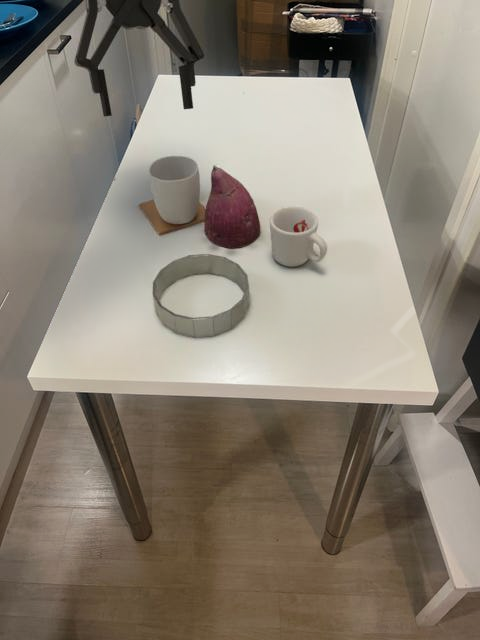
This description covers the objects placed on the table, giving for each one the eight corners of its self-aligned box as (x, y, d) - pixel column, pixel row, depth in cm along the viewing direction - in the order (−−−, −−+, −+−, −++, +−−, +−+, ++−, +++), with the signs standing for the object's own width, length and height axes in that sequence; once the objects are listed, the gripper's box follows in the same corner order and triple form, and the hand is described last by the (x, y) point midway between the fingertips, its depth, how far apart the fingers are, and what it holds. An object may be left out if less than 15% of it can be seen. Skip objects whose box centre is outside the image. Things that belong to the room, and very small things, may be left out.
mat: (159, 235, 92) (158, 233, 92) (138, 206, 99) (138, 203, 98) (212, 218, 95) (212, 216, 95) (189, 191, 102) (188, 189, 102)
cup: (336, 263, 86) (342, 225, 80) (307, 286, 82) (312, 248, 76) (287, 237, 91) (290, 200, 85) (259, 258, 87) (259, 220, 81)
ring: (178, 350, 73) (175, 332, 70) (142, 290, 82) (138, 272, 79) (265, 315, 77) (266, 297, 75) (222, 262, 86) (221, 244, 84)
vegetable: (204, 258, 92) (174, 195, 81) (215, 220, 98) (188, 156, 87) (258, 253, 89) (234, 187, 78) (266, 214, 95) (244, 147, 84)
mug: (203, 227, 93) (199, 179, 85) (155, 230, 92) (147, 182, 85) (200, 190, 101) (196, 144, 94) (156, 193, 101) (148, 147, 93)
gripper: (197, -36, 80) (211, 107, 88) (35, -39, 71) (67, 119, 79) (214, -50, 74) (228, 105, 82) (39, -56, 65) (74, 118, 73)
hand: (149, 112), depth 81 cm, fingers open, 13 cm apart
